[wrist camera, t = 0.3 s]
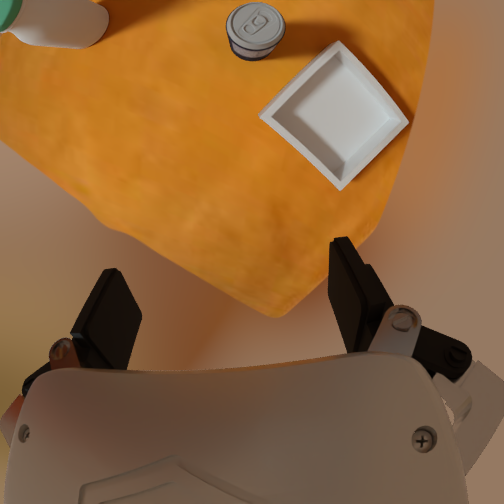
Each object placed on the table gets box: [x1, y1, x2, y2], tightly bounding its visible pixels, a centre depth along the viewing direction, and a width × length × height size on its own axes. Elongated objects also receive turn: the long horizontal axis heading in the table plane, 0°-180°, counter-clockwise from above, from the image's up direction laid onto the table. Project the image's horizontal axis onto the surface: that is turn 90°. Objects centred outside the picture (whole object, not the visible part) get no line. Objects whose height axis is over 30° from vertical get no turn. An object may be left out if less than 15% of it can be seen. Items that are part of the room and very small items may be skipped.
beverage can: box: [226, 2, 285, 61], centre depth 23 cm, size 6×6×12 cm
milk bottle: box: [0, 0, 109, 49], centre depth 15 cm, size 8×8×20 cm
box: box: [258, 40, 409, 191], centre depth 32 cm, size 15×15×4 cm
